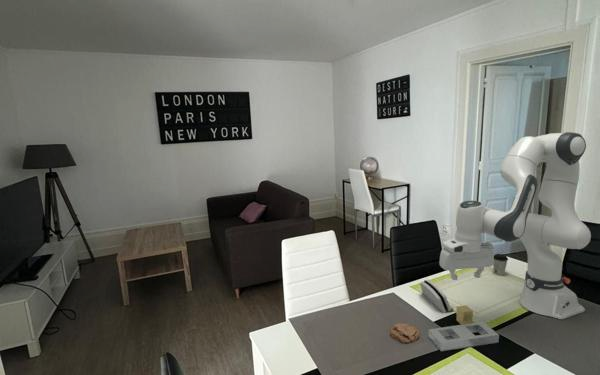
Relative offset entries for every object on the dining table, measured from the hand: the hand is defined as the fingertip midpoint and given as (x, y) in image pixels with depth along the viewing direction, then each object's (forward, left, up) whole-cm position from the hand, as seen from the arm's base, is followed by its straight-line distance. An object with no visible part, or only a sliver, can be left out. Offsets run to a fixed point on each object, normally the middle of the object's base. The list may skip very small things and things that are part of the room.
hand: (465, 278), depth 121 cm
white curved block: (+3, -15, -19) cm, 25 cm away
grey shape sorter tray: (+7, +9, -19) cm, 22 cm away
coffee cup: (-43, -33, -19) cm, 57 cm away
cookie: (+26, +2, -19) cm, 32 cm away
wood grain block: (0, 0, -19) cm, 19 cm away
